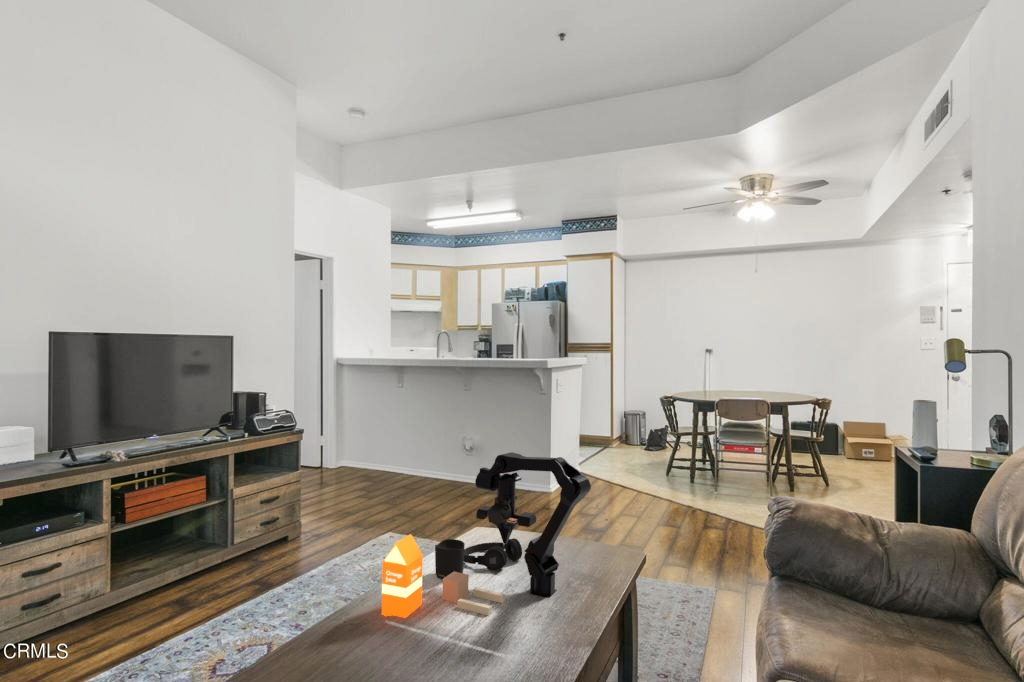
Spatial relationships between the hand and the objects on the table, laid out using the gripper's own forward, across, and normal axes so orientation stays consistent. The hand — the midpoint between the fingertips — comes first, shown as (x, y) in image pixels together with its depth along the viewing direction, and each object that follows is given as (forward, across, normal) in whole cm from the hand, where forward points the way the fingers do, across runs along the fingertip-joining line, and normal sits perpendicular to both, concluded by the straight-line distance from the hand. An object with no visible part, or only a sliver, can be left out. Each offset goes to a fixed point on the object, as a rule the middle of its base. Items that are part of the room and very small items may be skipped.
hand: (505, 543), depth 177 cm
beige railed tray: (+12, -2, -18) cm, 22 cm away
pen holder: (+12, -18, -4) cm, 22 cm away
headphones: (+12, -13, +14) cm, 23 cm away
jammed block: (+11, -7, -18) cm, 22 cm away
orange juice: (+12, -16, -31) cm, 37 cm away
